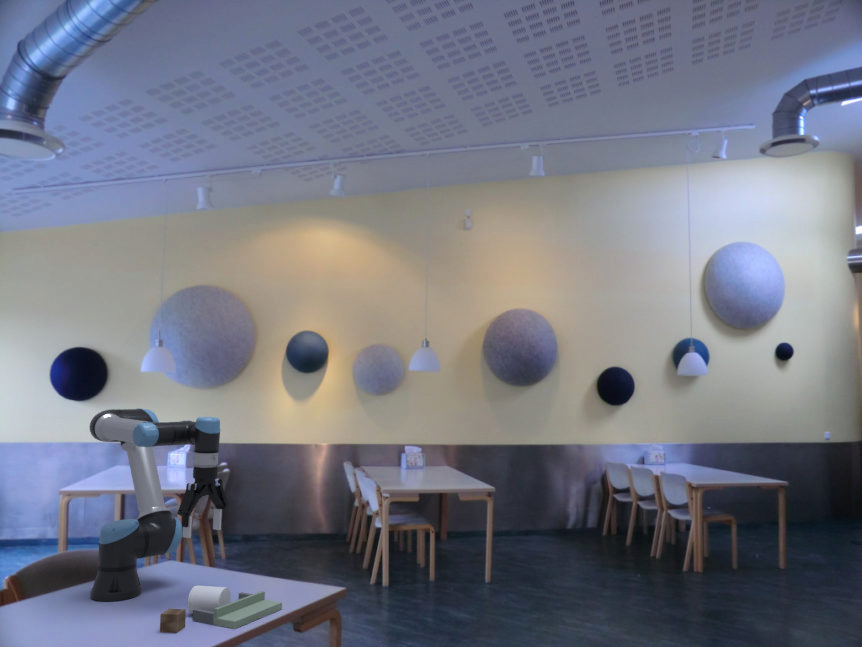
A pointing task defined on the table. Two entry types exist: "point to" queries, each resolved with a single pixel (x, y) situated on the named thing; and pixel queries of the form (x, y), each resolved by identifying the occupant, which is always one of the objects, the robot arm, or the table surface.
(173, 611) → the walnut block
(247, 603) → the green holder tray
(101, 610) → the table surface
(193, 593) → the mug
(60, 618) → the table surface
